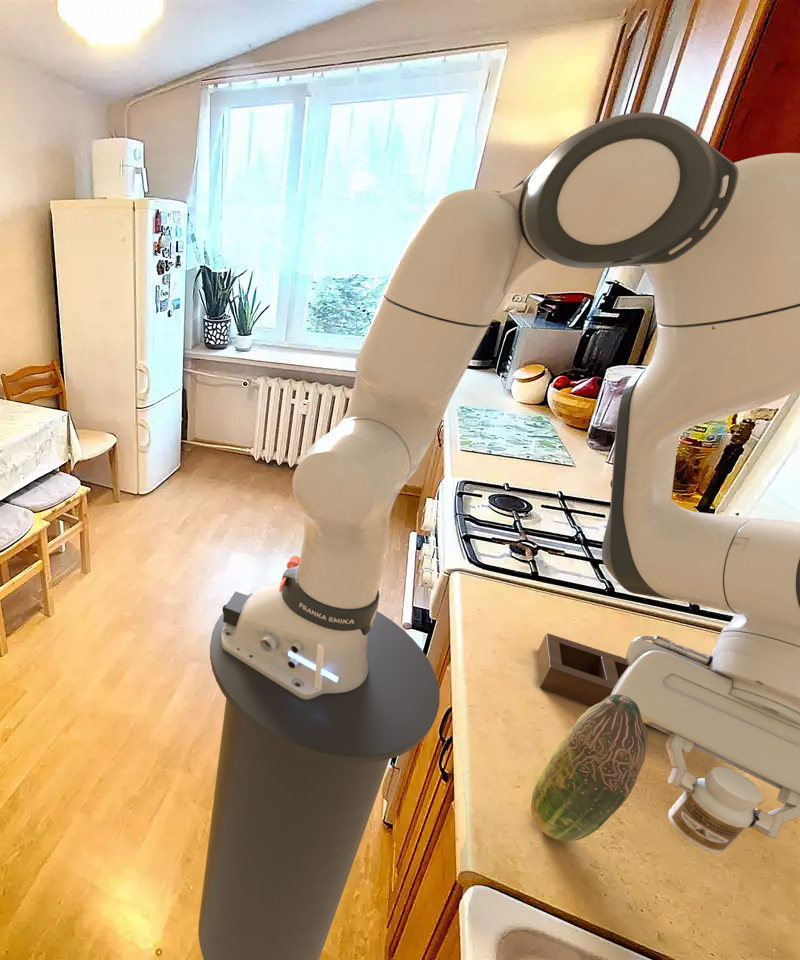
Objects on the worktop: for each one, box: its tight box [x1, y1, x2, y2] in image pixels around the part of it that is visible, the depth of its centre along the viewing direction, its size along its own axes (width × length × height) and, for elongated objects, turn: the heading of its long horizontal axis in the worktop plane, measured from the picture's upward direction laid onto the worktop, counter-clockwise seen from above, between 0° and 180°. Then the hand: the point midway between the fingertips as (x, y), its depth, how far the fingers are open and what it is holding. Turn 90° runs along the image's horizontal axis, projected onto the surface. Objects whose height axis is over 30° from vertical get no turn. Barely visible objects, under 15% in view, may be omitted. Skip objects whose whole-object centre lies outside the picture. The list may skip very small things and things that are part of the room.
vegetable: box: [530, 694, 649, 842], centre depth 52 cm, size 6×6×20 cm
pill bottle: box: [667, 766, 763, 854], centre depth 50 cm, size 4×4×8 cm
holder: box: [536, 632, 665, 734], centre depth 73 cm, size 8×14×4 cm, turn 59°
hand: (718, 810), depth 50 cm, fingers closed on pill bottle, 4 cm apart
